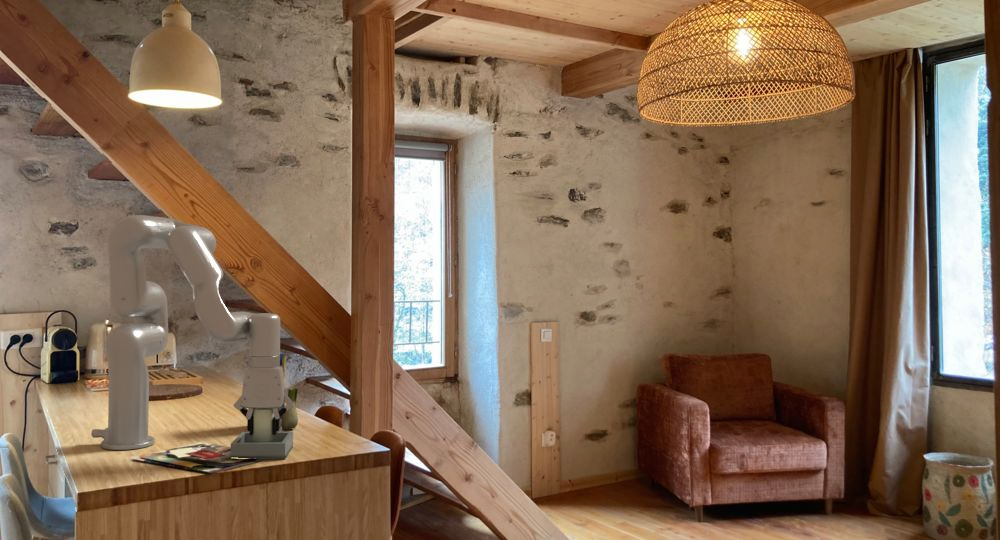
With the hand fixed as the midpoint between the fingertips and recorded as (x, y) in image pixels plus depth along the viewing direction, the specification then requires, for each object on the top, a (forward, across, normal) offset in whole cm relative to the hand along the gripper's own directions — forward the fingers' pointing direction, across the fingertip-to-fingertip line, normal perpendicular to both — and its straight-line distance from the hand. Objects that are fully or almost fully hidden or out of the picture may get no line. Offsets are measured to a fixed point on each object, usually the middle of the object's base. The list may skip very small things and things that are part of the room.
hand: (263, 433), depth 198 cm
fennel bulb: (+5, +2, +28) cm, 28 cm away
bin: (+5, 0, 0) cm, 5 cm away
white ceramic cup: (+2, 0, 0) cm, 2 cm away
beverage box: (+5, -4, +30) cm, 31 cm away
